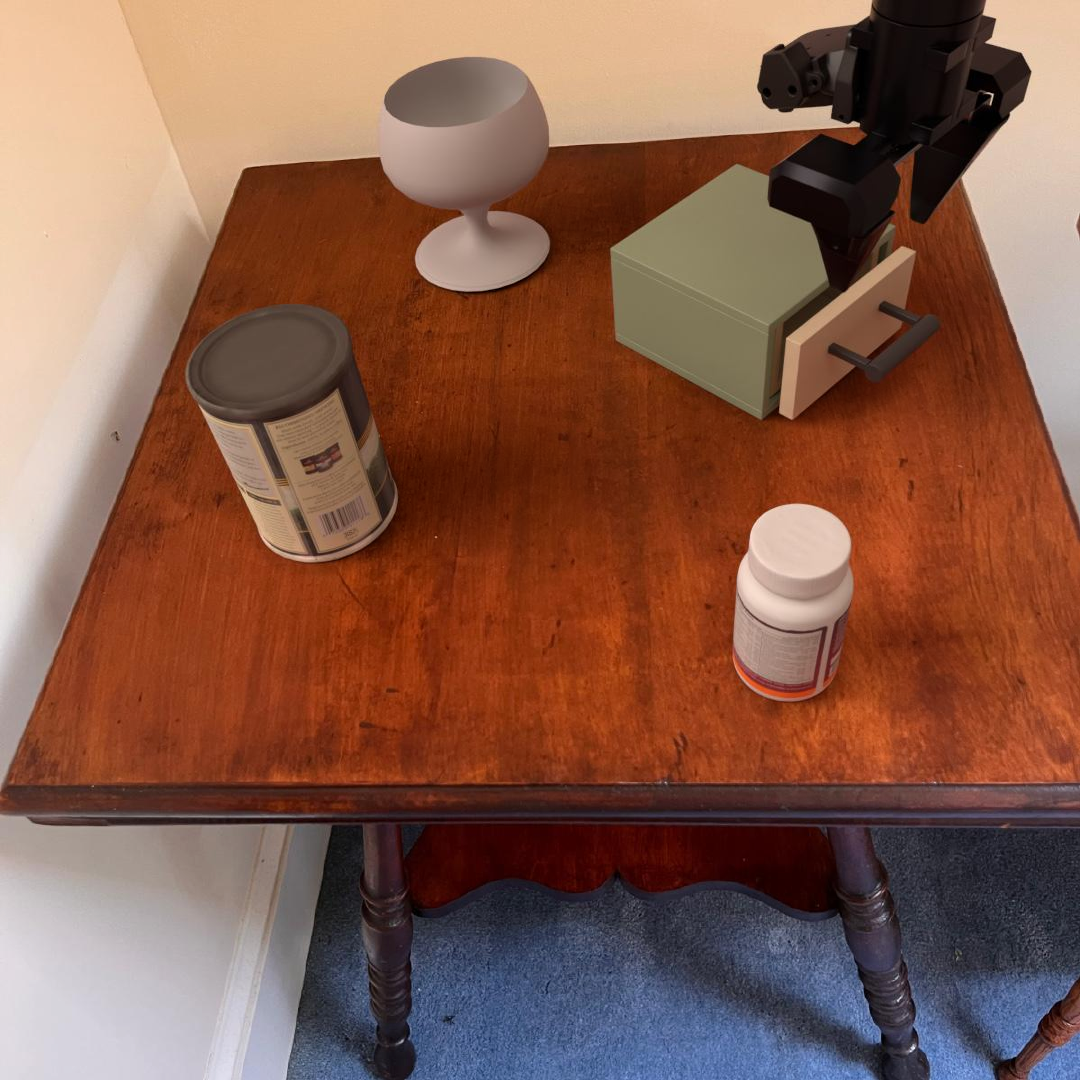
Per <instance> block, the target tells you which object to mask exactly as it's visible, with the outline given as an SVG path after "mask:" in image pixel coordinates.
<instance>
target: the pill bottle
mask: <svg viewBox="0 0 1080 1080" xmlns="http://www.w3.org/2000/svg"><path fill="white" fill-rule="evenodd" d="M748 541H749V542H748V549H747V552H746V553H745V555H744V556H743V557H742V560H741V562H740V563H739V567H738V571H737V575H736V589H735V590H736V591H735V606H734V619H733V620H734V621H733V622H734V623H733V635H732V660H733V665H734V668H735V670H736V673H737V675H738V676H739V678H740V680H741V681H742V682H743V683H744V684H745V685H746V686H747V687H748V688H749V689H751V690H752V691H753V692H754V693H756V694H758V695H760V696H762V697H764V698H767V699H769V700H772V701H773V700H774V701H776V702H777V701H778V702H800V701H805V700H808V699H810V698H813V697H815V696H817V695H818V694H820V693H821V692H823V691H824V690H825V689H827V687H829V685H831V683H832V682H833V680H834V678H835V676H836V674H837V671H838V667H839V663H840V659H841V653H842V649H843V645H844V639H845V635H846V630H847V626H848V620H849V615H850V610H851V606H852V601H853V597H854V587H855V585H854V584H855V583H854V576H853V571H852V568H851V566H850V558H851V552H852V539H851V535H850V532H849V530H848V528H847V527H846V525H845V524H844V522H843V521H842V520H841V519H839V517H837V516H836V515H835V514H833V513H832V512H830V511H829V510H827V509H824V508H821V507H820V506H816V505H812V504H806V503H788V504H782V505H779V506H776V507H774V508H772V509H768V511H766V512H764V513H763V514H762V515H760V517H758V518H757V520H756V521H755V523H754V524H753V526H752V528H751V530H750V533H749V540H748Z"/></svg>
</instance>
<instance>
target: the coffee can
mask: <svg viewBox="0 0 1080 1080" xmlns="http://www.w3.org/2000/svg"><path fill="white" fill-rule="evenodd" d="M184 376H185V378H184V379H185V383H186V387H187V389H188V390H189V393H190V394H191V396H192V398H193V399H194V401H195V402H196V404H197V405H198V406H199V407H198V408H200V410H201V413H202V415H203V417H204V418H205V419H204V420H205V421H206V423H207V425H208V427H209V430H210V431H211V433H212V435H213V438H214V439H215V442H216V444H217V445H218V448H219V450H220V452H221V454H222V456H223V458H224V460H225V463H226V464H227V467H228V469H229V470H230V472H231V475H232V477H233V479H234V481H235V483H236V485H237V488H238V489H239V491H240V494H241V495H242V498H243V500H244V502H245V504H246V506H247V508H248V510H249V512H250V514H251V517H252V519H253V521H254V523H255V525H256V528H257V531H258V534H259V536H260V538H261V540H262V541H263V543H264V544H265V546H266V547H267V548H269V550H270V551H272V552H273V553H275V554H276V555H278V556H281V558H283V559H287V560H291V561H294V562H301V563H308V564H309V563H324V562H330V561H337V560H338V559H339V560H340V559H341V558H344V557H347V556H350V555H352V554H354V553H356V552H358V551H360V550H362V549H364V548H365V547H367V546H368V545H370V544H371V543H373V542H374V541H375V540H376V539H377V538H378V537H380V535H382V533H384V531H385V530H387V528H388V526H389V524H390V523H391V522H392V520H393V518H394V516H395V514H396V511H397V508H398V501H399V493H398V488H397V484H396V482H395V479H394V478H393V476H392V473H391V472H392V471H391V469H390V466H389V463H388V459H387V456H386V453H385V450H384V446H383V444H382V440H381V438H380V435H379V431H378V429H377V425H376V421H375V418H374V415H373V411H372V409H371V405H370V402H369V399H368V395H367V392H366V389H365V385H364V382H363V379H362V375H361V372H360V369H359V367H358V364H357V360H356V357H355V353H354V345H353V340H352V336H351V334H350V330H349V327H348V326H347V324H346V323H345V322H344V320H342V318H340V317H339V316H338V315H337V314H336V313H335V314H334V313H333V312H331V311H329V310H327V309H326V308H325V309H324V308H322V307H320V306H314V305H310V304H303V303H284V304H276V305H275V304H274V305H269V306H264V307H260V308H256V309H253V310H250V311H248V312H244V313H242V314H239V315H237V316H235V317H233V318H231V319H229V320H227V321H225V322H224V323H222V324H220V325H218V327H216V328H215V329H213V330H212V331H210V332H209V333H208V334H207V335H206V336H205V337H204V338H202V340H200V342H199V343H198V344H197V345H196V347H194V349H193V351H192V352H191V354H190V356H189V358H188V361H187V362H186V367H185V372H184Z"/></svg>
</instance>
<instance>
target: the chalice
mask: <svg viewBox="0 0 1080 1080" xmlns="http://www.w3.org/2000/svg"><path fill="white" fill-rule="evenodd" d="M377 145H378V155H379V158H380V163H381V165H382V169H383V172H384V173H385V175H386V177H387V178H388V179H389V180H390V182H391V184H392V185H393V186H394V188H395V189H397V190H398V191H399V192H401V193H402V194H404V196H406V197H407V198H408V199H409V200H413V201H414V202H416V203H419V204H421V205H424V206H429V207H432V208H435V209H441V210H442V209H443V210H451V211H452V210H453V211H454V210H458V211H459V212H460V213H461V214H463V215H461V216H458V217H454V218H452V219H450V220H448V221H446V222H444V223H441V224H440V225H439V226H437V227H435V228H434V229H432V230H431V231H430V232H429V233H428V234H427V235H426V236H425V237H424V238H423V239H422V240H421V242H420V244H419V245H418V247H417V248H416V252H415V256H414V261H415V267H416V269H417V270H418V272H419V274H420V275H421V276H422V277H423V278H424V279H425V280H427V281H428V282H429V283H431V284H433V285H436V286H437V287H440V288H443V289H447V290H451V291H458V292H483V291H489V290H495V289H499V288H503V287H505V286H509V285H512V284H515V283H516V282H518V281H520V280H523V279H524V278H526V277H528V276H529V275H531V274H532V273H533V272H535V271H537V270H538V269H539V267H540V266H541V265H542V264H543V263H544V262H545V260H546V258H547V257H548V254H549V252H550V248H551V247H550V246H551V240H550V236H549V234H548V232H547V231H546V230H545V228H544V227H543V226H542V225H541V224H539V223H538V222H536V221H535V220H534V219H532V218H529V217H527V216H525V215H522V214H518V213H514V212H510V211H501V210H500V211H499V210H494V211H493V210H490V208H491V206H492V205H493V204H497V203H499V202H501V201H503V200H506V199H508V198H510V197H512V196H513V195H515V194H516V193H518V192H519V191H521V190H522V189H524V188H525V187H526V186H528V185H529V184H530V182H532V181H533V180H534V179H535V178H536V176H538V174H539V172H540V171H541V169H542V167H543V165H544V163H545V161H546V159H547V156H548V152H549V148H550V127H549V123H548V118H547V115H546V111H545V108H544V105H543V103H542V100H541V98H540V97H539V94H538V92H537V90H536V88H535V86H534V84H533V82H532V81H531V79H530V78H529V76H528V75H527V73H525V72H524V70H522V69H521V68H520V67H518V66H517V65H515V64H514V63H512V62H509V61H507V60H503V59H498V58H495V57H486V56H464V57H452V58H447V59H442V60H438V61H434V62H431V63H428V64H425V65H422V66H421V65H420V66H418V67H417V68H414V69H413V70H410V71H408V72H406V73H405V74H403V75H402V76H400V77H398V78H397V79H396V80H395V81H394V82H393V83H392V84H391V85H390V86H389V87H388V89H387V90H386V92H385V94H384V96H383V99H382V102H381V107H380V111H379V116H378V124H377ZM489 210H490V211H489Z"/></svg>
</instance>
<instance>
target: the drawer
mask: <svg viewBox="0 0 1080 1080" xmlns="http://www.w3.org/2000/svg"><path fill="white" fill-rule="evenodd" d="M879 248H880V247H879ZM879 248H878V249H876V250H875V251H874V252H873V253H871V254H870V256H869V257H868V259H867V261H866V262H865V264H864V266H863V267H862V269H861V270H860V272H859V274H858V275H857V277H856V278H855V280H854V281H853V283H852V284H851V286H850V288H849V289H848V290H847V291H846V292H845V293H842V292H839V291H837V290H835V289H832V288H831V287H830V286H829V287H828V288H827V289H826V290H824V291H823V292H822V293H821V294H819V295H818V296H817V297H815V298H814V299H813V300H812V301H810V302H809V303H808V304H807V305H805V306H804V307H803V308H801V309H800V310H799V311H798V312H796V313H795V314H794V315H793V316H791V317H790V318H789V319H787V320H786V321H785V322H784V323H782V324H781V325H780V326H779V327H777V328H776V329H775V341H774V352H773V364H772V376H771V387H770V397H771V396H772V395H773V394H775V393H776V392H777V391H778V390H779V389H781V398H780V405H779V408H778V409H779V410H778V413H779V414H780V415H782V416H783V417H786V418H787V419H789V420H791V421H793V420H794V419H796V418H797V417H798V416H799V415H800V414H801V413H803V412H804V411H805V410H806V409H807V408H809V407H810V405H812V404H814V402H816V401H817V400H818V399H819V398H820V397H821V396H823V395H824V394H826V392H828V390H830V389H831V388H832V387H833V386H835V384H837V383H838V382H839V381H840V380H842V379H843V378H844V377H845V376H846V375H847V374H849V373H850V372H851V371H852V370H853V369H855V368H856V367H857V368H859V369H861V370H862V371H864V375H865V376H866V378H867V379H868V380H869V381H870V382H871V383H880V382H882V381H883V380H884V379H885V378H886V377H887V376H888V375H890V374H891V373H892V372H893V371H894V370H896V368H897V367H899V366H900V365H901V364H902V363H903V362H904V361H905V360H907V359H908V358H909V357H910V356H911V355H913V354H914V353H915V352H916V351H917V350H918V349H919V348H921V346H923V345H924V344H925V343H926V342H927V341H929V340H930V339H931V338H932V337H933V336H934V335H935V334H937V332H939V331H940V330H941V326H942V323H941V320H940V319H939V318H938V316H936V315H935V314H932V313H928V314H925V315H924V316H923V317H922V316H920V315H918V314H916V313H913V312H911V311H909V310H907V309H906V305H907V300H908V295H909V290H910V284H911V280H912V275H913V271H914V270H913V269H914V265H915V261H916V255H917V251H916V250H914V249H911V248H909V247H907V246H903V245H901V246H900V247H899V248H897V249H896V250H895V251H894V252H891V255H890V256H889V257H887V258H886V259H885V260H884V261H882V262H881V263H880V264H879V265H877V260H878V254H879ZM903 323H905V324H907V325H910V326H911V327H910V328H908V329H907V330H905V332H904V333H903V334H902V335H901V336H899V337H898V338H897V339H896V340H894V341H893V342H892V343H891V344H890V345H889V346H887V348H885V349H884V350H882V351H881V353H880V354H878V355H877V356H876V357H874V359H869V358H867V357H869V356H870V355H871V354H872V353H873V352H875V350H877V349H878V348H879V347H880V346H881V345H883V344H884V343H885V342H886V341H888V339H890V338H891V337H892V336H893V335H895V334H896V333H897V332H899V330H901V328H902V325H903Z"/></svg>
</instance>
